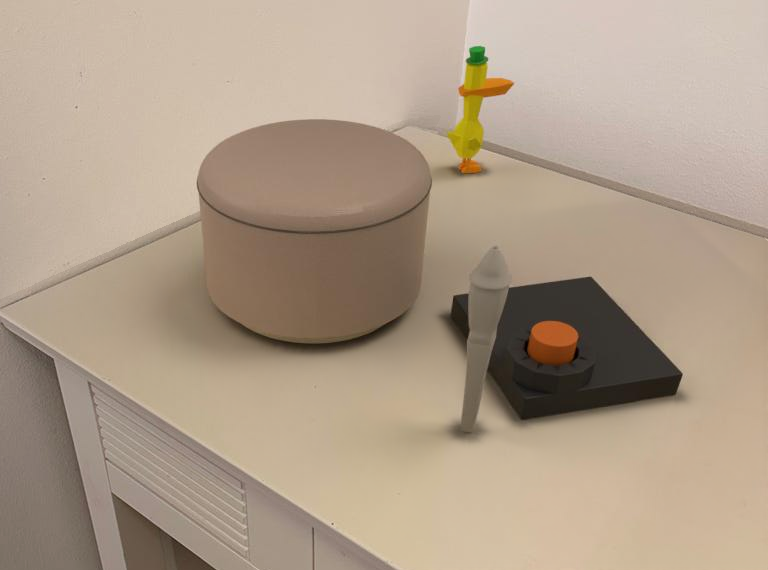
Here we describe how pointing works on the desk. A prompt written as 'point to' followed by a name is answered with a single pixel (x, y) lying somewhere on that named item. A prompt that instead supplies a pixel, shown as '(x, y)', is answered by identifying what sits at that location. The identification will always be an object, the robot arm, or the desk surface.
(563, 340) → the button
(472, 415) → the pen
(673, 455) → the desk surface
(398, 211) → the container
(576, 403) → the orange button pad
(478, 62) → the toy figure
